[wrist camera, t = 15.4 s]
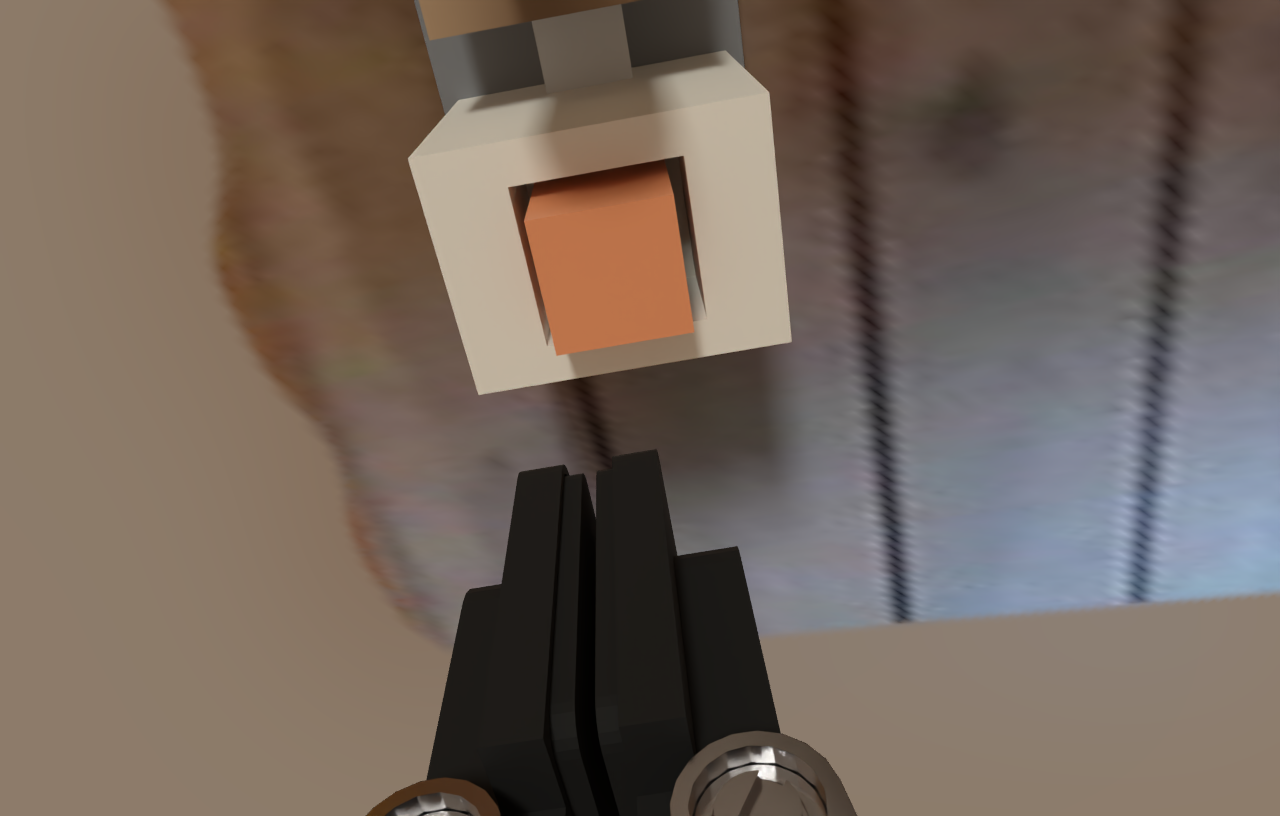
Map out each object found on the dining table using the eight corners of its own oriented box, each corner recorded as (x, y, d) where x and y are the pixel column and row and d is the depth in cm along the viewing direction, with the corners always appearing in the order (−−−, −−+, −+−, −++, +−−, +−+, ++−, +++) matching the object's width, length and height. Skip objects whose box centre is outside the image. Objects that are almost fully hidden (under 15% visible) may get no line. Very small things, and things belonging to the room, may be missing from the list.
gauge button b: (663, 156, 21) (673, 194, 18) (682, 277, 22) (694, 332, 19) (535, 179, 21) (524, 221, 18) (563, 298, 23) (556, 356, 20)
